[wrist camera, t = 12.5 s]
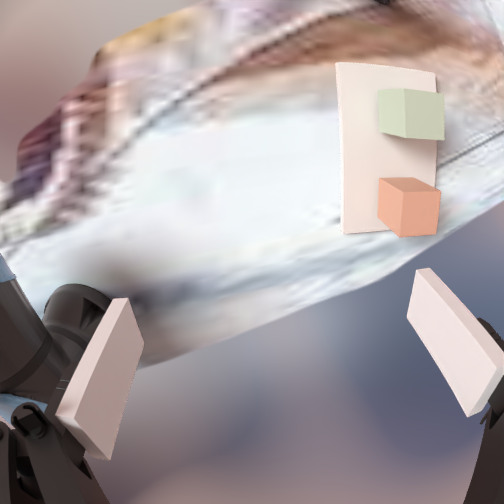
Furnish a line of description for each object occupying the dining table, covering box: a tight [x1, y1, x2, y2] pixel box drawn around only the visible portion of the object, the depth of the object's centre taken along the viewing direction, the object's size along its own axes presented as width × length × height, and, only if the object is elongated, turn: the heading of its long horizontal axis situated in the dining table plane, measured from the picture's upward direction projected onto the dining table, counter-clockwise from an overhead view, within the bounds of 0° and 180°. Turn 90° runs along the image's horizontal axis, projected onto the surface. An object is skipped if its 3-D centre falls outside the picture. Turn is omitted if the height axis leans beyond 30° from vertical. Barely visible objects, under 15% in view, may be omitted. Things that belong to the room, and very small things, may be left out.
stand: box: [335, 62, 441, 237], centre depth 32 cm, size 14×22×9 cm, turn 5°
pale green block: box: [378, 88, 444, 140], centre depth 29 cm, size 5×5×7 cm
